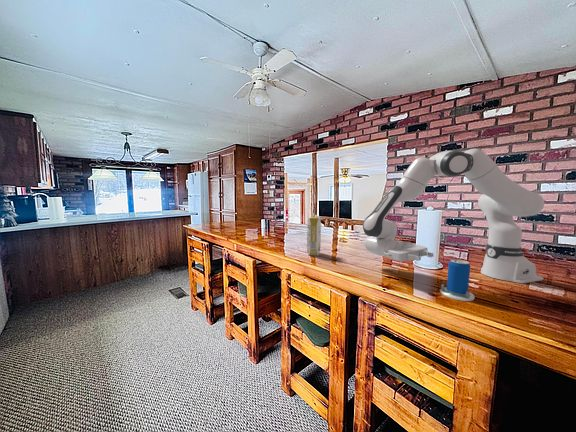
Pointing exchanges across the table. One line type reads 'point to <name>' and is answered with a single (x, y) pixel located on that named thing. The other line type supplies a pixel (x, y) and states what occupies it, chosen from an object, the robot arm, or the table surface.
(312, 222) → the juice carton
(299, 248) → the table surface
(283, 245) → the table surface
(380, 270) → the table surface
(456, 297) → the pin cradle
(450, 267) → the beverage can
